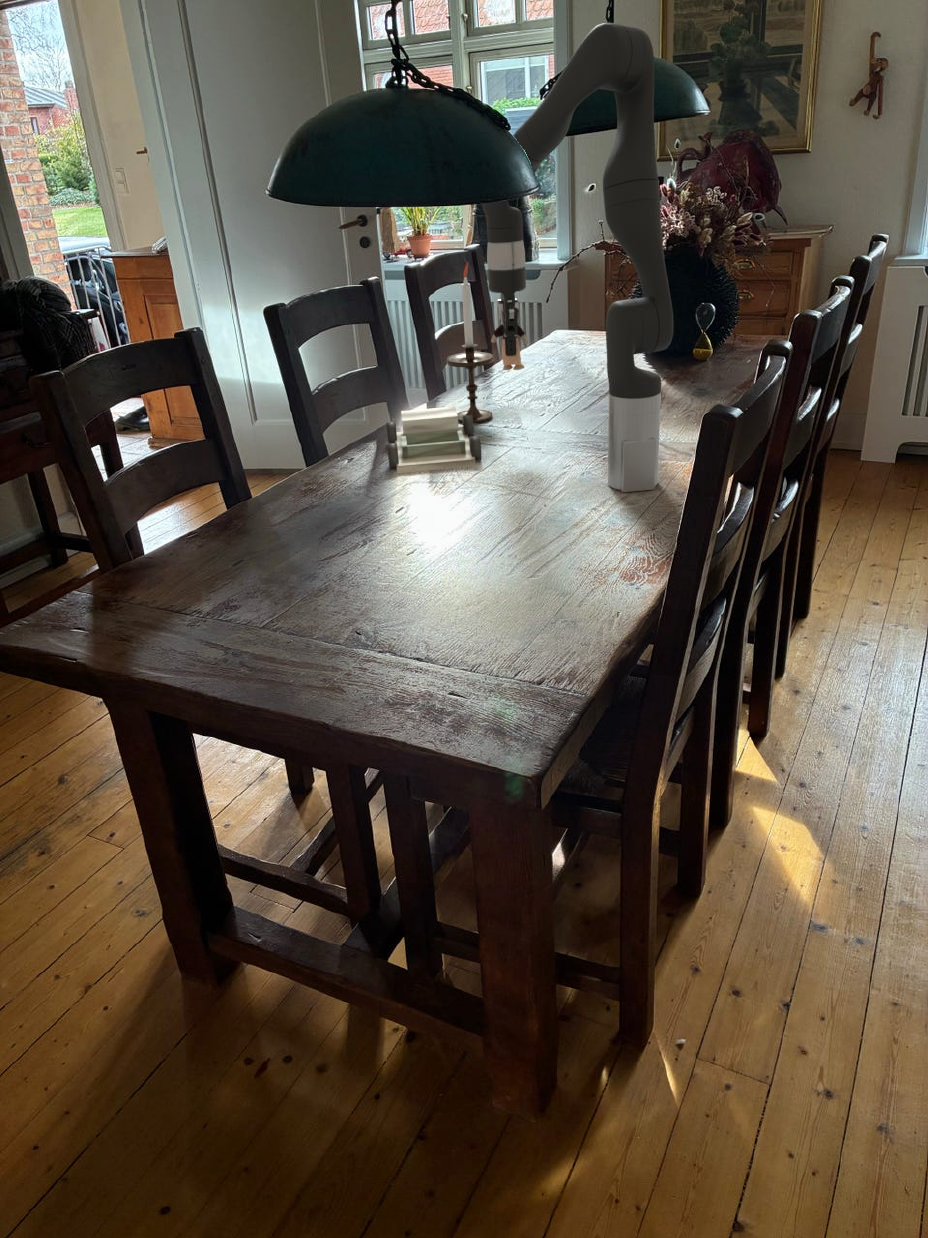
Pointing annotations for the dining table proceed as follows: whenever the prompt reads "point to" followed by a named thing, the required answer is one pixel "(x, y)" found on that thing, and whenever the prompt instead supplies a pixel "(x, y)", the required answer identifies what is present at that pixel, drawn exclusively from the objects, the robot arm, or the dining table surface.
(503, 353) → the grandmother figurine
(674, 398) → the dining table surface
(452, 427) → the chassis
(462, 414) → the candlestick
